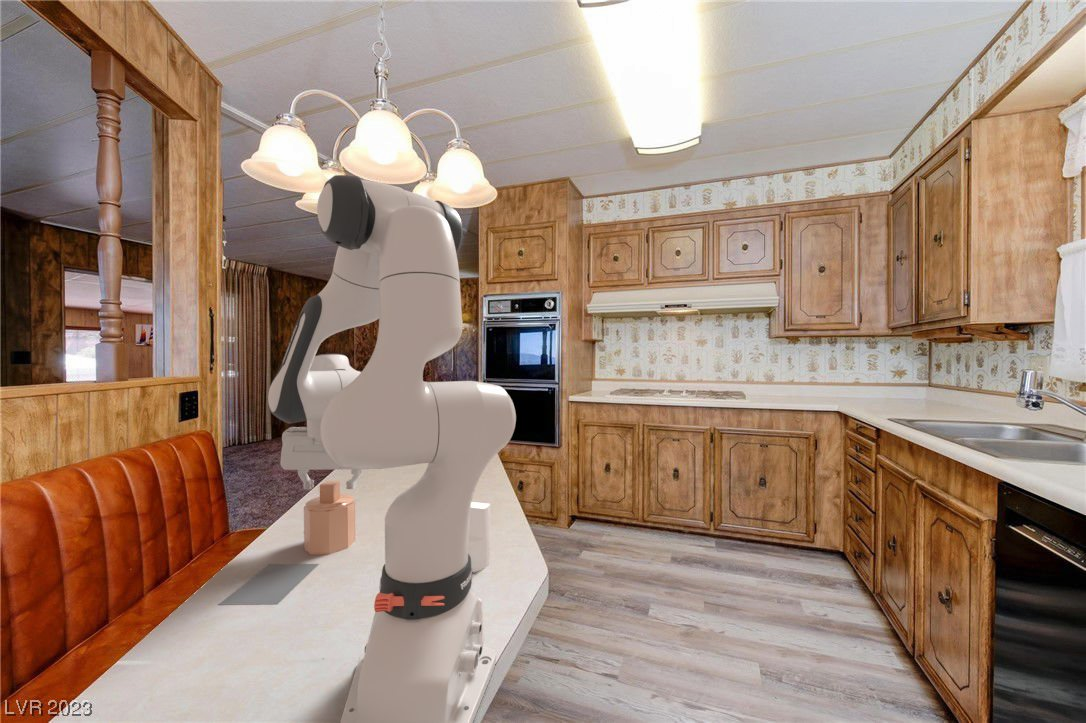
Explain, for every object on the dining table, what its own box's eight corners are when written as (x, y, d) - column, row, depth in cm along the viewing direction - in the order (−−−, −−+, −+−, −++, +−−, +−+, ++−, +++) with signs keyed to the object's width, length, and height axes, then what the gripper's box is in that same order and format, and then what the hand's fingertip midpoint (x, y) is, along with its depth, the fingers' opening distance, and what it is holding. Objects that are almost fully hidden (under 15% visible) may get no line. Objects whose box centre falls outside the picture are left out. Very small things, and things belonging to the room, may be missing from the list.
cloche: (342, 555, 91) (341, 489, 90) (296, 556, 91) (296, 490, 90) (360, 536, 100) (360, 476, 100) (319, 536, 100) (319, 477, 100)
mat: (277, 606, 72) (277, 604, 72) (217, 607, 72) (217, 604, 72) (319, 565, 86) (319, 563, 86) (269, 566, 86) (269, 564, 86)
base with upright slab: (496, 555, 91) (496, 499, 91) (479, 576, 82) (479, 514, 82) (458, 549, 94) (458, 495, 93) (437, 569, 85) (437, 509, 85)
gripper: (273, 429, 92) (274, 493, 92) (369, 429, 92) (369, 492, 92) (290, 424, 98) (291, 484, 98) (380, 424, 98) (380, 484, 99)
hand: (330, 488), depth 95 cm, fingers open, 8 cm apart
